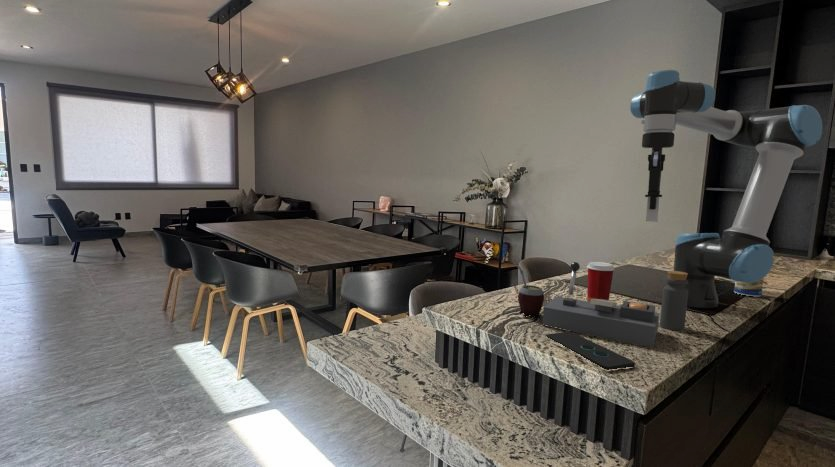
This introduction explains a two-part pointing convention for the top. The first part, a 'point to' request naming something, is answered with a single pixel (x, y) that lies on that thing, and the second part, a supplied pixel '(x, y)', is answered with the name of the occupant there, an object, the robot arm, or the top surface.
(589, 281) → the paper cup
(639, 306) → the push button
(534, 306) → the mate gourd
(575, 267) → the toggle lever
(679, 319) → the bottle
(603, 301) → the plate
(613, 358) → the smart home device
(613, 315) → the console
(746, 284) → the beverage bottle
